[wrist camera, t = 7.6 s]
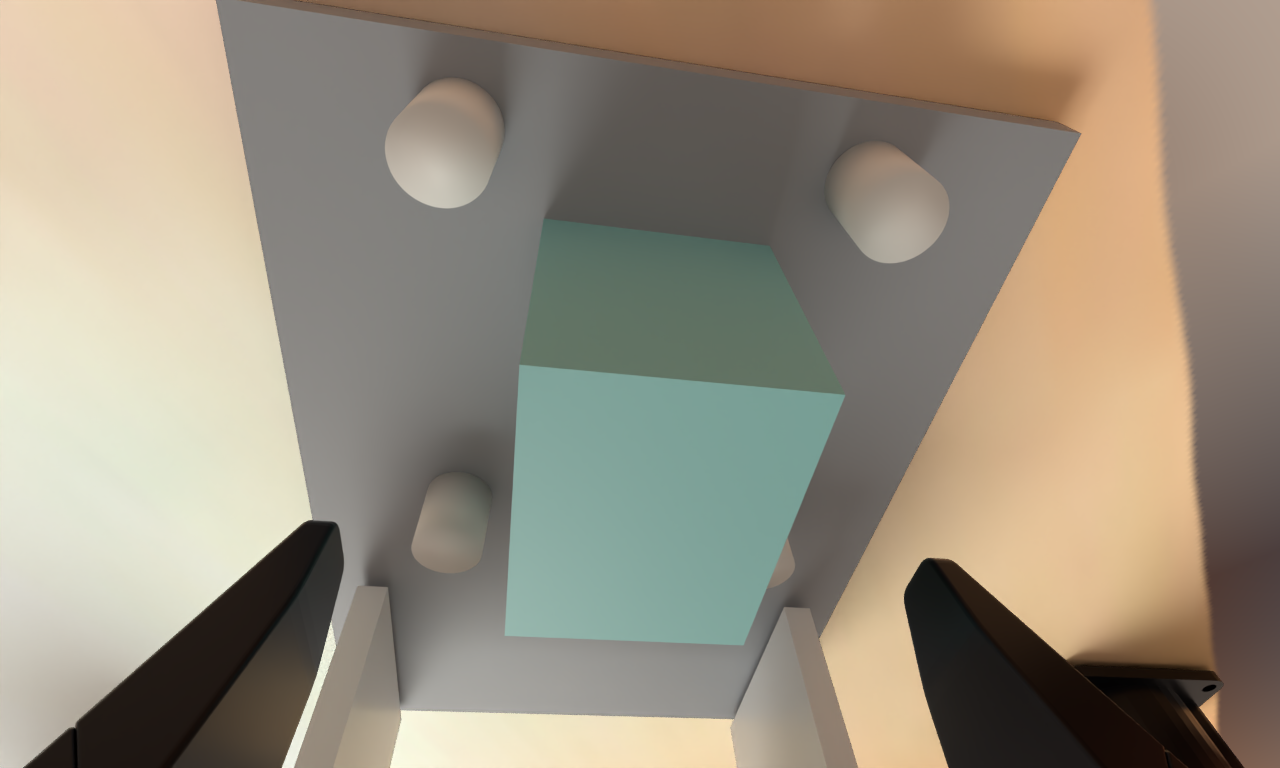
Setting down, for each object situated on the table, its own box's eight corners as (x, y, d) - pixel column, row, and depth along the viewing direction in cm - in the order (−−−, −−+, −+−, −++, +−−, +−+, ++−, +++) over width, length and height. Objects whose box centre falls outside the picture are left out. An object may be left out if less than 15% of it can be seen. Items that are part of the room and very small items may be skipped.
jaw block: (769, 245, 13) (845, 395, 9) (707, 466, 17) (743, 645, 13) (543, 218, 13) (519, 364, 9) (527, 452, 16) (504, 635, 12)
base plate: (1057, 121, 13) (1146, 163, 11) (771, 699, 25) (788, 772, 23) (237, -9, 11) (153, 11, 9) (355, 685, 23) (330, 764, 21)
